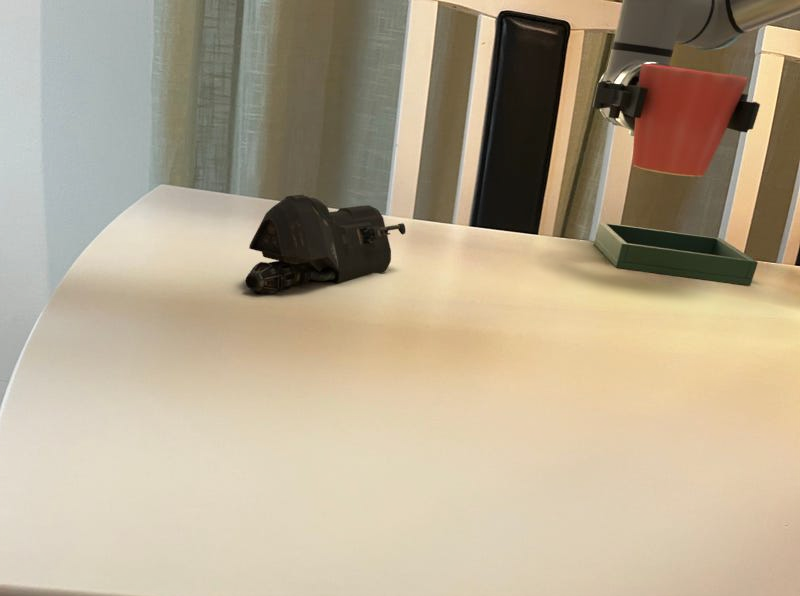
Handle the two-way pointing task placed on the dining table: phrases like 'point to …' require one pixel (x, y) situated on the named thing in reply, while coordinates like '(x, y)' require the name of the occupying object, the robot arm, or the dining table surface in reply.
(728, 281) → the plant tray
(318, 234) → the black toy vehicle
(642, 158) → the flower pot
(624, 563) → the dining table surface
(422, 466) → the dining table surface
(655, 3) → the robot arm
